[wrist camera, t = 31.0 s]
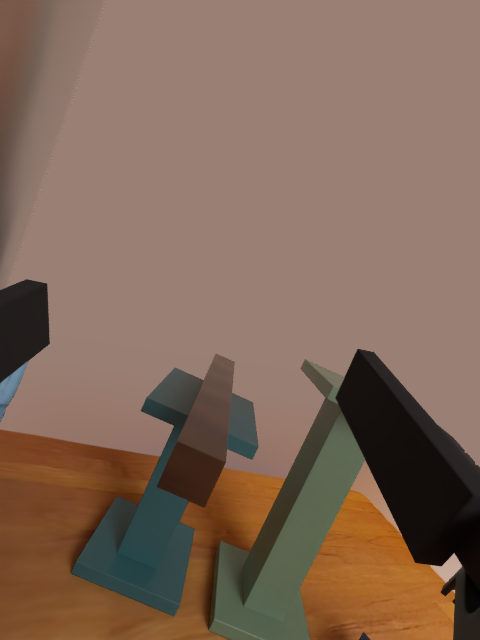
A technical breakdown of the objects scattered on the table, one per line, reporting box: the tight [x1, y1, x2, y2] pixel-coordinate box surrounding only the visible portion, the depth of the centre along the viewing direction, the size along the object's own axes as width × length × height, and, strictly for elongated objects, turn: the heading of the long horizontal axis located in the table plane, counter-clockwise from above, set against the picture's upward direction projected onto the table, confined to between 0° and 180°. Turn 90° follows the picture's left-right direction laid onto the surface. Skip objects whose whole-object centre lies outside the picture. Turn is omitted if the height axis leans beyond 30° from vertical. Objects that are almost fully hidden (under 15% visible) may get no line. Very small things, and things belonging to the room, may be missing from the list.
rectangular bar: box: [157, 354, 234, 507], centre depth 31 cm, size 27×3×3 cm, turn 0°
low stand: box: [71, 368, 258, 616], centre depth 34 cm, size 12×12×21 cm
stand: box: [209, 360, 365, 640], centre depth 35 cm, size 12×12×30 cm
